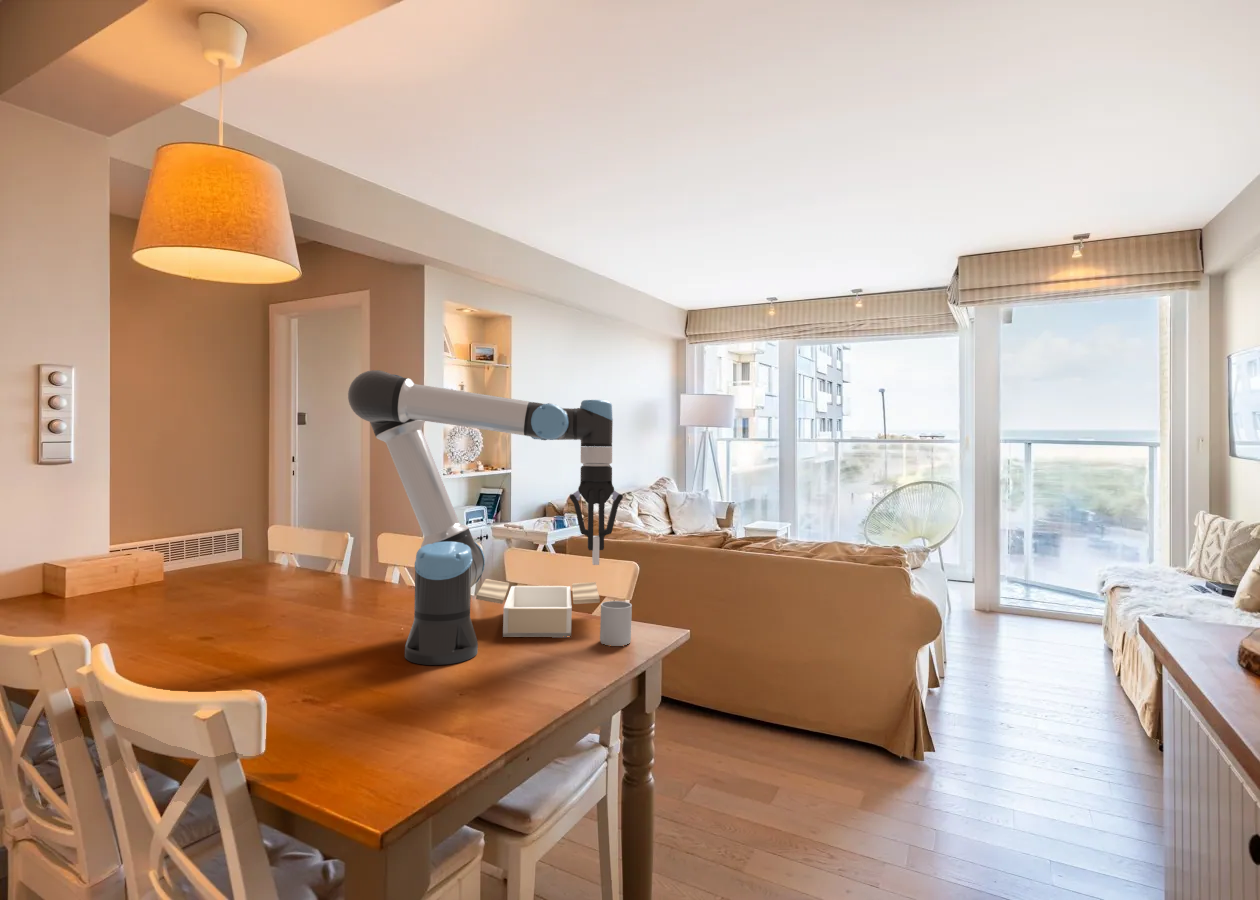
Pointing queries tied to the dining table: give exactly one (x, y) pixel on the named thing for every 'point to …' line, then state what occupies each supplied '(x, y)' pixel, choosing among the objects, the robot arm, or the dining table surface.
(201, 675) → the dining table surface
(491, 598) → the flap
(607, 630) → the cup
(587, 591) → the flap
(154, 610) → the dining table surface
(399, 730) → the dining table surface
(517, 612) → the carton
